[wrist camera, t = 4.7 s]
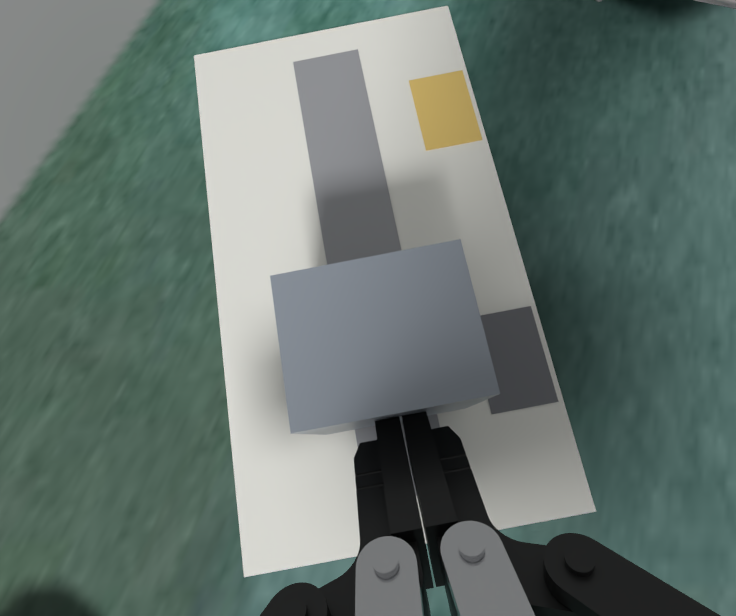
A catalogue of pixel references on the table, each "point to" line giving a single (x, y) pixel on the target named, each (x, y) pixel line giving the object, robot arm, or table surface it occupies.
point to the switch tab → (381, 339)
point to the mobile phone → (715, 2)
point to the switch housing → (359, 240)
